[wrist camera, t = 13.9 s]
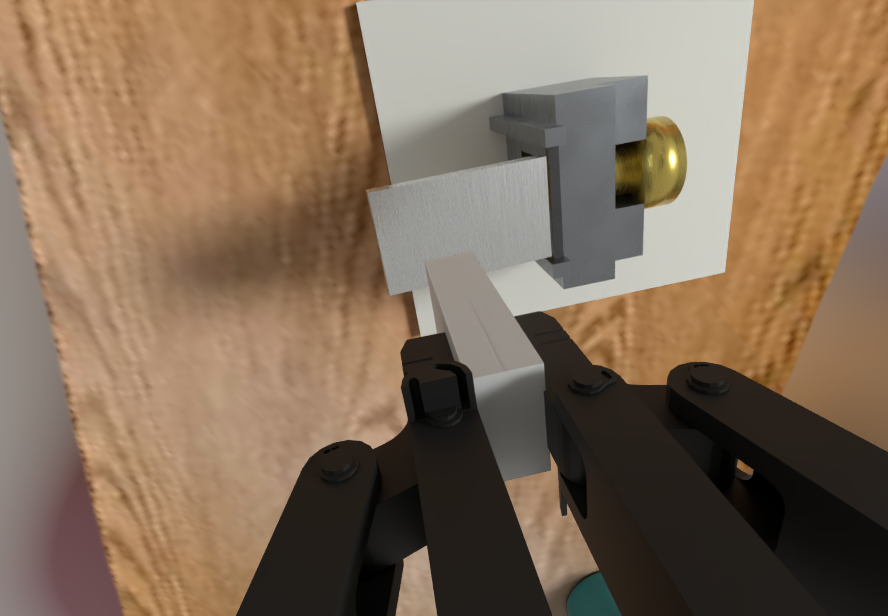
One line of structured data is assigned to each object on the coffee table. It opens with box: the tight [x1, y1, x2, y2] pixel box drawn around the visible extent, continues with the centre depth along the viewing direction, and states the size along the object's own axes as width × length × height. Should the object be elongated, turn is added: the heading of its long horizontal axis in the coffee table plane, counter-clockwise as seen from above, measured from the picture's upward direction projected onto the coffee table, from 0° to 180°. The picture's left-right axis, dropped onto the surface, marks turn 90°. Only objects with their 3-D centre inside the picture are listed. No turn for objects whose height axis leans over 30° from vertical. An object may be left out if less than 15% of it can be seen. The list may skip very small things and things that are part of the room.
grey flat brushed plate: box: [366, 155, 552, 296], centre depth 23 cm, size 1×5×8 cm
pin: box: [615, 116, 687, 209], centre depth 29 cm, size 13×5×5 cm, turn 99°
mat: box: [356, 0, 754, 337], centre depth 34 cm, size 22×25×1 cm
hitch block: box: [489, 75, 648, 289], centre depth 29 cm, size 7×10×10 cm
